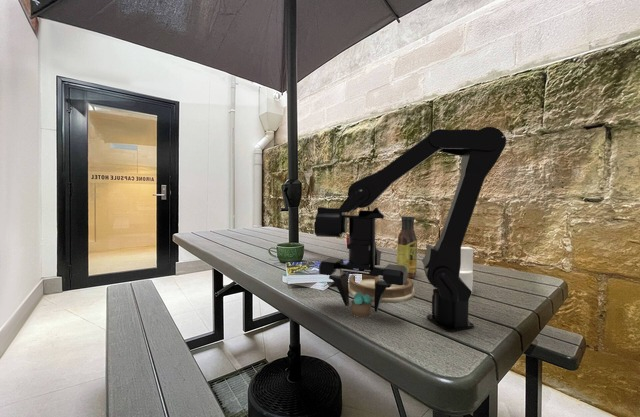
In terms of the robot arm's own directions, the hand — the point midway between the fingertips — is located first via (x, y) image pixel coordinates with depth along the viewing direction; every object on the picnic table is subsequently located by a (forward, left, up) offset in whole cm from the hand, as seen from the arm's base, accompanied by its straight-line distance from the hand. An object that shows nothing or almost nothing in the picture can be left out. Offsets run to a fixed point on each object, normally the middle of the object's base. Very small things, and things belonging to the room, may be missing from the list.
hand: (361, 308), depth 60 cm
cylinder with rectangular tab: (+6, -32, -1) cm, 33 cm away
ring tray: (+12, -12, -1) cm, 17 cm away
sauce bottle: (+22, -28, -1) cm, 36 cm away
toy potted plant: (0, 0, -1) cm, 1 cm away
